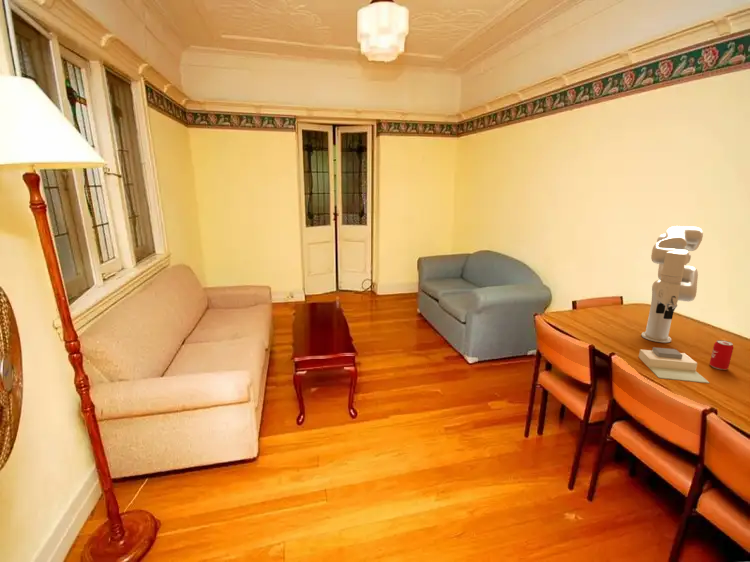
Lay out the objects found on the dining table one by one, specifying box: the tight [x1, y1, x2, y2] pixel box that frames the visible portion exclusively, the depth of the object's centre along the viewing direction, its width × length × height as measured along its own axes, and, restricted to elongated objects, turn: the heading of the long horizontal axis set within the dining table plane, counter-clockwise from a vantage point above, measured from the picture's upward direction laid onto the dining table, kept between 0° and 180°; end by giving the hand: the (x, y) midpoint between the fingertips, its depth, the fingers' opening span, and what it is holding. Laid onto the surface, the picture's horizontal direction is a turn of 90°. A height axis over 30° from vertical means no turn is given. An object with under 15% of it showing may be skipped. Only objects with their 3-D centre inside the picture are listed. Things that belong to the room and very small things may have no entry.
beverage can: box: [709, 339, 734, 371], centre depth 163 cm, size 6×6×12 cm
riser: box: [638, 349, 698, 372], centre depth 167 cm, size 10×18×4 cm, turn 76°
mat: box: [647, 366, 710, 384], centre depth 158 cm, size 10×18×1 cm, turn 76°
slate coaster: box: [652, 347, 682, 359], centre depth 167 cm, size 6×9×2 cm, turn 76°
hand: (663, 315), depth 172 cm, fingers open, 6 cm apart
